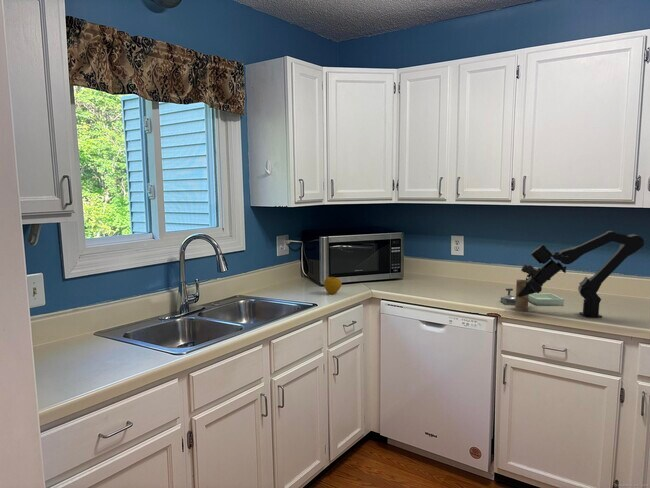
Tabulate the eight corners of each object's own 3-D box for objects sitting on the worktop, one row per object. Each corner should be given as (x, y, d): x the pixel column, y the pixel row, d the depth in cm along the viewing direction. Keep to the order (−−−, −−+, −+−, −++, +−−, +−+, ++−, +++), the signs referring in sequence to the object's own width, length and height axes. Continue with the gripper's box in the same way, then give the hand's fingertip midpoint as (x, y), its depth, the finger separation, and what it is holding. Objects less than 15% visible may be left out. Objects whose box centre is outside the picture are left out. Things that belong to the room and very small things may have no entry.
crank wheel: (520, 300, 219) (520, 291, 218) (507, 300, 219) (507, 291, 218) (514, 297, 225) (515, 288, 224) (502, 297, 225) (502, 288, 224)
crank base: (521, 304, 219) (521, 300, 218) (506, 304, 219) (506, 300, 218) (515, 301, 225) (515, 297, 225) (500, 301, 225) (500, 297, 225)
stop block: (527, 308, 211) (528, 280, 210) (527, 311, 207) (529, 282, 205) (515, 307, 213) (516, 279, 212) (515, 310, 209) (516, 281, 207)
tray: (563, 305, 217) (563, 299, 217) (536, 305, 217) (537, 299, 217) (550, 299, 229) (551, 293, 229) (525, 299, 229) (525, 293, 229)
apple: (344, 293, 243) (344, 276, 242) (334, 296, 237) (334, 278, 235) (331, 291, 249) (331, 274, 248) (320, 294, 242) (320, 276, 241)
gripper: (533, 255, 214) (505, 277, 220) (534, 261, 197) (504, 285, 203) (551, 273, 212) (523, 295, 218) (554, 281, 195) (524, 304, 201)
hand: (518, 294), depth 210 cm, fingers closed on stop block, 5 cm apart
